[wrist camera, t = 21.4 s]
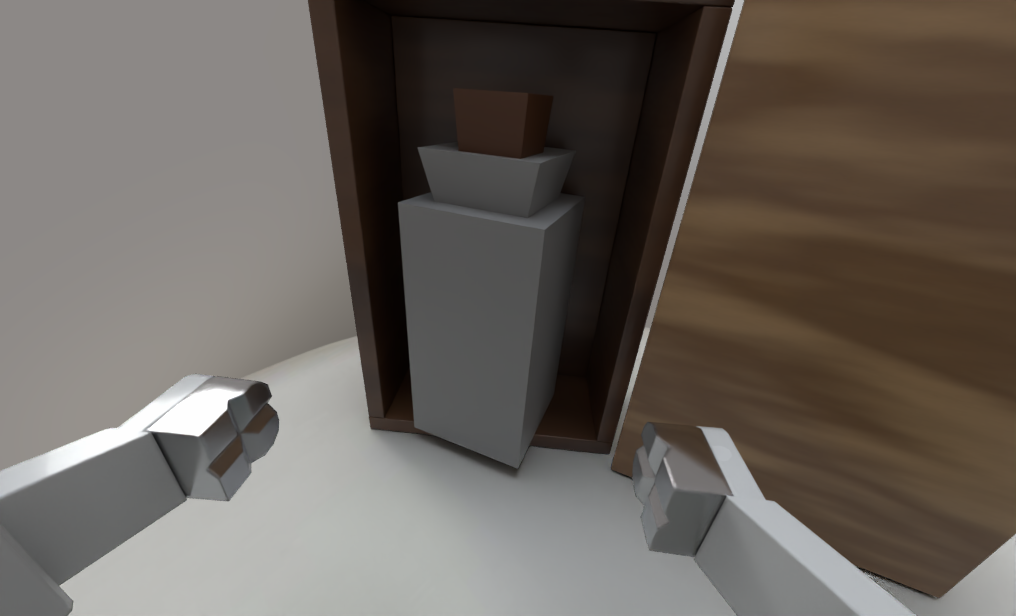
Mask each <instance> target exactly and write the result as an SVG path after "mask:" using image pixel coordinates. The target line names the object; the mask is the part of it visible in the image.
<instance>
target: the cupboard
mask: <svg viewBox="0 0 1016 616" xmlns="http://www.w3.org/2000/svg"><path fill="white" fill-rule="evenodd" d="M734 2H735V0H308V4H309V11H310V18H311V25H312V31H313V38H314V45H315V52H316V59H317V66H318V72H319V79H320V86H321V92H322V99H323V106H324V113H325V120H326V127H327V133H328V140H329V147H330V154H331V160H332V167H333V174H334V181H335V188H336V194H337V201H338V208H339V215H340V221H341V229H342V235H343V242H344V248H345V255H346V263H347V269H348V276H349V282H350V290H351V297H352V303H353V310H354V317H355V324H356V330H357V337H358V344H359V351H360V358H361V365H362V371H363V378H364V385H365V392H366V399H367V405H368V412H369V420H370V427H371V428H372V429H381V430H391V431H400V432H409V433H418V434H427V435H433V434H430V433H428V432H425V431H423V430H420V429H418V428H415V427H414V415H413V401H412V387H411V374H410V360H409V346H408V333H407V319H406V306H405V292H404V278H403V265H402V251H401V238H400V224H399V210H398V202H401V201H404V200H407V199H411V198H414V197H417V196H420V195H423V194H426V193H430V192H431V189H430V186H429V183H428V180H427V176H426V173H425V170H424V167H423V164H422V160H421V157H420V154H419V151H418V147H424V146H431V145H439V144H446V143H453V142H458V140H457V128H456V116H455V105H454V93H453V88H460V89H474V90H489V91H503V92H518V93H531V94H541V95H551V96H554V97H553V102H552V108H551V113H550V119H549V124H548V130H547V135H546V141H545V146H544V147H549V148H558V149H566V150H575V154H574V157H573V160H572V162H571V165H570V168H569V170H568V173H567V176H566V179H565V181H564V184H563V187H562V189H561V192H560V193H563V194H569V195H576V196H582V197H585V201H584V207H583V214H582V220H581V226H580V233H579V239H578V245H577V252H576V258H575V264H574V271H573V277H572V283H571V290H570V296H569V302H568V308H567V315H566V321H565V327H564V334H563V340H562V346H561V353H560V359H559V365H558V372H557V378H556V384H555V391H554V395H553V397H552V399H551V401H550V403H549V405H548V408H547V410H546V412H545V414H544V416H543V418H542V420H541V422H540V424H539V426H538V428H537V430H536V432H535V434H534V436H533V438H532V441H531V443H530V445H529V446H538V447H547V448H556V449H565V450H574V451H584V452H593V453H602V454H610V451H611V447H612V444H613V443H612V442H613V440H614V436H615V432H616V429H617V425H618V421H619V418H620V414H621V411H622V407H623V403H624V400H625V396H626V393H627V389H628V385H629V382H630V378H631V374H632V371H633V367H634V364H635V360H636V356H637V353H638V349H639V345H640V342H641V338H642V335H643V331H644V327H645V323H646V320H647V316H648V313H649V309H650V306H651V302H652V298H653V295H654V291H655V288H656V284H657V280H658V277H659V273H660V269H661V266H662V262H663V259H664V255H665V251H666V248H667V244H668V241H669V237H670V233H671V230H672V226H673V222H674V219H675V215H676V211H677V208H678V204H679V201H680V197H681V193H682V190H683V186H684V183H685V179H686V175H687V172H688V168H689V164H690V161H691V157H692V154H693V150H694V146H695V143H696V139H697V136H698V132H699V128H700V125H701V121H702V117H703V114H704V110H705V107H706V103H707V99H708V95H709V92H710V89H711V85H712V81H713V78H714V74H715V70H716V67H717V63H718V59H719V56H720V52H721V48H722V45H723V41H724V37H725V34H726V31H727V27H728V23H729V20H730V16H731V13H732V8H731V7H733V5H734Z"/></svg>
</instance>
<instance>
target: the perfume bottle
mask: <svg viewBox="0 0 1016 616" xmlns="http://www.w3.org/2000/svg"><path fill="white" fill-rule="evenodd" d="M453 93H454V105H455V116H456V128H457V140H458V142H453V143H446V144H439V145H431V146H424V147H418V151H419V154H420V157H421V160H422V164H423V167H424V170H425V173H426V176H427V180H428V183H429V186H430V189H431V192H430V193H426V194H423V195H420V196H417V197H414V198H411V199H407V200H404V201H401V202H398V210H399V224H400V238H401V251H402V265H403V278H404V292H405V306H406V319H407V333H408V346H409V360H410V374H411V387H412V401H413V415H414V427H415V428H418V429H420V430H423V431H425V432H428V433H430V434H433V435H435V436H438V437H440V438H443V439H445V440H448V441H450V442H453V443H455V444H458V445H460V446H463V447H465V448H468V449H470V450H472V451H475V452H477V453H480V454H482V455H485V456H487V457H490V458H492V459H495V460H497V461H500V462H502V463H505V464H507V465H510V466H512V467H515V468H517V469H518V467H519V465H520V463H521V461H522V459H523V457H524V455H525V453H526V451H527V449H528V447H529V445H530V443H531V441H532V438H533V436H534V434H535V432H536V430H537V428H538V426H539V424H540V422H541V420H542V418H543V416H544V414H545V412H546V410H547V408H548V405H549V403H550V401H551V399H552V397H553V395H554V391H555V384H556V378H557V372H558V365H559V359H560V353H561V346H562V340H563V334H564V327H565V321H566V315H567V308H568V302H569V296H570V290H571V283H572V277H573V271H574V264H575V258H576V252H577V245H578V239H579V233H580V226H581V220H582V214H583V207H584V201H585V197H582V196H576V195H569V194H563V193H560V192H561V189H562V187H563V184H564V181H565V179H566V176H567V173H568V170H569V168H570V165H571V162H572V160H573V157H574V154H575V150H566V149H558V148H549V147H544V146H545V141H546V135H547V130H548V124H549V119H550V113H551V108H552V102H553V97H554V96H551V95H541V94H531V93H518V92H503V91H489V90H474V89H460V88H453Z"/></svg>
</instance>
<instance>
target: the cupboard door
mask: <svg viewBox="0 0 1016 616" xmlns="http://www.w3.org/2000/svg"><path fill="white" fill-rule="evenodd" d="M647 422H657V423H668V424H678V425H689V426H695V427H696V426H702V427H713V428H723V429H724V430H725V431H726V432H727V433H728V434H729V436H730V438H731V439H732V441H733V443H734V445H735V446H736V448H737V450H738V452H739V453H740V455H741V457H742V459H743V461H744V462H745V464H746V466H747V468H748V469H749V471H750V473H751V475H752V476H753V478H754V480H755V482H756V483H757V485H758V487H759V489H760V490H761V492H762V494H763V496H764V498H765V499H766V500H769V501H775V502H776V503H777V504H778V505H780V506H781V507H782V508H783V509H785V510H786V511H787V512H788V513H790V514H791V515H792V516H793V517H795V518H796V519H797V520H798V521H800V522H801V523H802V524H803V525H805V526H806V527H807V528H808V529H810V530H811V531H812V532H813V533H815V534H816V535H817V536H818V537H820V538H821V539H822V540H823V541H825V542H826V543H827V544H828V545H830V546H831V547H832V548H833V549H835V550H836V551H837V552H838V553H840V554H841V555H842V556H843V557H845V558H846V559H847V560H848V561H850V562H851V563H852V564H853V565H856V566H858V567H861V568H863V569H866V570H868V571H871V572H873V573H876V574H878V575H881V576H884V577H886V578H889V579H891V580H894V581H896V582H899V583H901V584H904V585H906V586H909V587H912V588H914V589H917V590H919V591H922V592H924V593H927V594H929V595H932V596H934V597H937V598H941V597H942V596H943V595H944V594H945V593H947V592H948V591H949V590H950V589H951V588H953V587H954V586H955V585H956V584H957V583H958V582H960V581H961V580H962V579H963V578H964V577H965V576H967V575H968V574H969V573H970V572H971V571H973V570H974V569H975V568H976V567H977V566H978V565H980V564H981V563H982V562H983V561H984V560H986V559H987V558H988V557H989V556H990V555H991V554H993V553H994V552H995V551H996V550H997V549H998V548H1000V547H1001V546H1002V545H1003V544H1004V543H1006V542H1007V541H1008V540H1009V539H1010V538H1011V537H1013V536H1014V535H1015V534H1016V0H744V3H743V6H742V10H741V14H740V17H739V20H738V24H737V28H736V31H735V34H734V38H733V41H732V45H731V48H730V52H729V55H728V59H727V62H726V66H725V69H724V73H723V76H722V80H721V83H720V87H719V90H718V94H717V97H716V101H715V104H714V108H713V111H712V115H711V118H710V122H709V125H708V129H707V132H706V136H705V139H704V143H703V146H702V150H701V153H700V157H699V160H698V164H697V167H696V171H695V174H694V178H693V182H692V185H691V189H690V192H689V196H688V199H687V203H686V206H685V210H684V213H683V217H682V220H681V224H680V227H679V231H678V234H677V238H676V241H675V245H674V248H673V252H672V255H671V259H670V262H669V266H668V269H667V273H666V276H665V280H664V283H663V287H662V290H661V294H660V297H659V301H658V304H657V308H656V311H655V315H654V318H653V322H652V325H651V329H650V332H649V336H648V339H647V343H646V346H645V350H644V353H643V357H642V360H641V364H640V367H639V371H638V374H637V378H636V381H635V385H634V388H633V392H632V395H631V399H630V402H629V406H628V409H627V413H626V416H625V420H624V423H623V427H622V430H621V434H620V437H619V441H618V444H617V448H616V451H615V455H614V458H613V462H612V466H611V469H612V470H614V471H617V472H619V473H622V474H624V475H627V476H629V477H632V471H633V460H634V456H635V452H636V450H637V449H638V448H640V447H641V446H643V445H644V444H643V440H642V437H641V433H642V430H643V427H644V425H645V424H646V423H647ZM632 478H633V477H632Z"/></svg>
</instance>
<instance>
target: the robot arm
mask: <svg viewBox="0 0 1016 616" xmlns="http://www.w3.org/2000/svg"><path fill="white" fill-rule="evenodd" d="M271 397H272V395H271V392H270V390H269V387H268V384H265V383H263V382H259V381H252V380H244V379H236V378H228V377H221V376H217V377H215V376H208V375H201V374H192V375H189V376H186V377H184V378H182V379H181V380H180V381H179V382H177V383H176V384H175V385H173V386H172V387H171V388H169V389H168V390H167V391H165V392H164V393H163V394H162V395H160V396H159V397H158V398H156V399H155V400H154V401H152V402H151V403H150V404H148V405H147V406H146V407H144V408H143V409H142V410H141V411H139V412H138V413H137V414H135V415H134V416H133V417H131V418H130V419H129V420H127V421H126V422H125V423H123V424H122V425H121V426H120V427H118V428H108V429H105V430H102V431H100V432H97V433H95V434H92V435H90V436H87V437H85V438H82V439H80V440H77V441H75V442H72V443H69V444H67V445H65V446H62V447H59V448H57V449H54V450H52V451H49V452H47V453H44V454H42V455H39V456H36V457H34V458H32V459H29V460H26V461H24V462H21V463H19V464H16V465H14V466H11V467H9V468H6V469H4V470H1V471H0V616H67V615H68V614H69V613H70V612H71V611H72V608H73V600H72V599H71V598H70V597H69V596H68V595H67V594H66V593H65V592H64V591H63V590H62V589H61V588H60V587H59V585H61V584H62V583H64V582H65V581H67V580H68V579H70V578H71V577H73V576H74V575H76V574H77V573H79V572H80V571H82V570H83V569H85V568H86V567H88V566H89V565H91V564H92V563H94V562H95V561H97V560H98V559H100V558H101V557H103V556H104V555H106V554H107V553H109V552H110V551H112V550H113V549H115V548H116V547H118V546H119V545H121V544H122V543H124V542H125V541H127V540H128V539H130V538H131V537H133V536H134V535H136V534H137V533H139V532H140V531H142V530H143V529H145V528H146V527H148V526H149V525H151V524H152V523H154V522H155V521H157V520H158V519H160V518H161V517H163V516H164V515H165V514H167V513H168V512H170V511H171V510H173V509H174V508H176V507H177V506H179V505H180V504H182V503H183V502H185V501H186V500H187V499H186V498H195V499H207V500H218V501H230V499H231V498H232V497H233V495H234V494H235V493H236V492H237V490H238V489H239V488H240V487H241V485H242V484H243V483H244V482H245V480H246V479H247V478H248V476H249V475H250V474H251V463H252V462H254V461H256V460H258V459H259V458H261V457H263V456H265V455H266V453H267V452H268V451H269V449H270V448H271V447H272V445H273V444H274V442H275V439H276V436H277V434H278V431H279V418H278V415H277V412H276V411H275V410H274V409H273V408H272V407H271V406H270V405H269V404H268V401H269V400H270V398H271ZM641 437H642V440H643V444H644V445H643V446H641V447H640V448H638V449H637V450H636V452H635V456H634V460H633V471H632V477H633V486H634V490H635V495H636V497H637V498H638V499H639V500H640V501H641V503H642V504H643V505H644V509H643V512H642V515H641V520H642V524H643V528H644V533H645V537H646V541H647V545H648V549H649V551H655V552H662V553H669V554H676V555H683V556H690V557H695V558H694V561H695V562H696V563H697V564H698V566H699V567H700V568H701V570H702V571H703V572H704V573H705V575H706V576H707V577H708V579H709V580H710V581H711V582H712V584H713V585H714V586H715V588H716V589H717V590H718V591H719V593H720V594H721V595H722V597H723V598H724V599H725V600H726V602H727V603H728V604H729V606H730V607H731V608H732V609H733V611H734V612H735V613H736V615H737V616H917V615H916V614H914V613H913V612H912V611H911V610H909V609H908V608H907V607H906V606H904V605H903V604H902V603H901V602H899V601H898V600H897V599H896V598H894V597H893V596H892V595H891V594H889V593H888V592H887V591H886V590H884V589H883V588H882V587H881V586H879V585H878V584H877V583H876V582H875V581H873V580H872V579H871V578H870V577H868V576H867V575H866V574H865V573H863V572H862V571H861V570H860V569H858V568H857V567H856V566H855V565H853V564H852V563H851V562H850V561H848V560H847V559H846V558H845V557H843V556H842V555H841V554H840V553H838V552H837V551H836V550H835V549H833V548H832V547H831V546H830V545H828V544H827V543H826V542H825V541H823V540H822V539H821V538H820V537H818V536H817V535H816V534H815V533H813V532H812V531H811V530H810V529H808V528H807V527H806V526H805V525H803V524H802V523H801V522H800V521H798V520H797V519H796V518H795V517H793V516H792V515H791V514H790V513H788V512H787V511H786V510H785V509H783V508H782V507H781V506H780V505H778V504H777V503H776V502H775V501H769V500H766V499H765V498H764V496H763V494H762V492H761V490H760V489H759V487H758V485H757V483H756V482H755V480H754V478H753V476H752V475H751V473H750V471H749V469H748V468H747V466H746V464H745V462H744V461H743V459H742V457H741V455H740V453H739V452H738V450H737V448H736V446H735V445H734V443H733V441H732V439H731V438H730V436H729V434H728V433H727V432H726V431H725V430H724V429H723V428H713V427H702V426H696V427H695V426H689V425H678V424H668V423H657V422H647V423H646V424H645V425H644V427H643V430H642V433H641Z"/></svg>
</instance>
